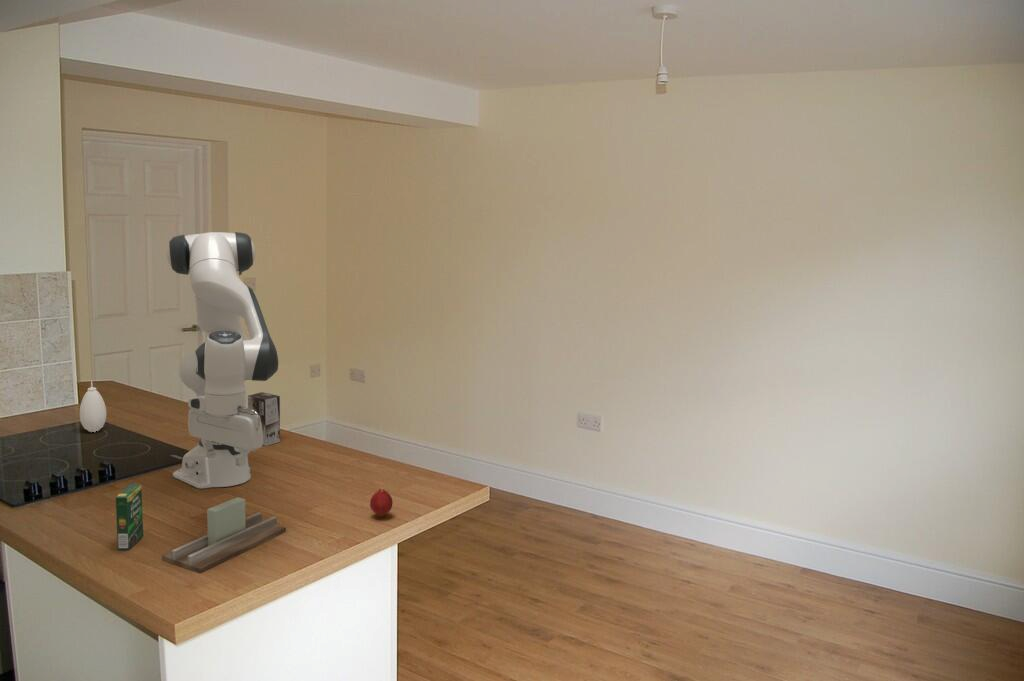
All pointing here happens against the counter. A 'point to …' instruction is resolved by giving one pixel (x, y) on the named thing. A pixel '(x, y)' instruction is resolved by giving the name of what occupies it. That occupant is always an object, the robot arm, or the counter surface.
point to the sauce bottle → (92, 410)
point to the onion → (381, 502)
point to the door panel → (225, 520)
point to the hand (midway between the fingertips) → (225, 461)
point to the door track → (224, 545)
